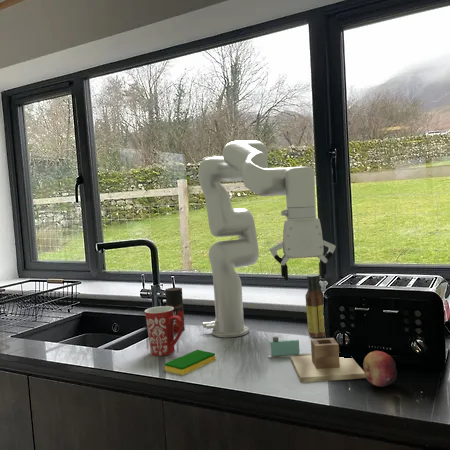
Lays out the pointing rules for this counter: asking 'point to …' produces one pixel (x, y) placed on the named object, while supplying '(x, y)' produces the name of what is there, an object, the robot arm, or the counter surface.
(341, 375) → the seat
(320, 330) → the sauce bottle
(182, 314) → the deodorant
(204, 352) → the dish sponge
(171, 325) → the mug
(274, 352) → the bar
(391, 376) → the fruit
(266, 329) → the counter surface
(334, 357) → the block
